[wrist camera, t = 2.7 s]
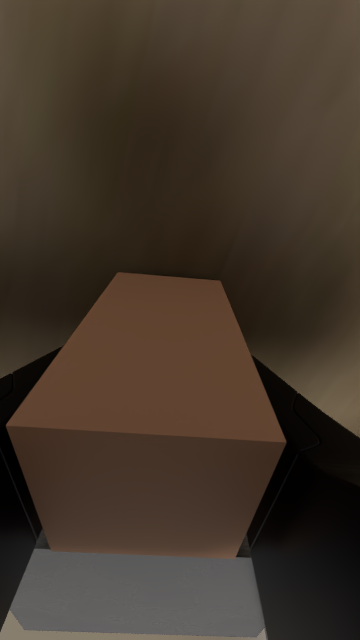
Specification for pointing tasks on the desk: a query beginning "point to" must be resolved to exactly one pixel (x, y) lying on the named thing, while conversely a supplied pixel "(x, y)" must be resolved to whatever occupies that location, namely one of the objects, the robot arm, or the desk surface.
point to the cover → (149, 426)
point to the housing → (139, 594)
